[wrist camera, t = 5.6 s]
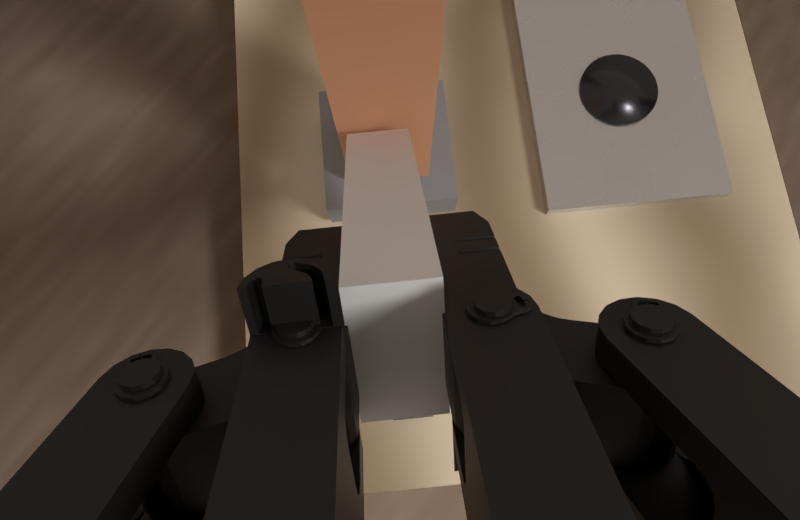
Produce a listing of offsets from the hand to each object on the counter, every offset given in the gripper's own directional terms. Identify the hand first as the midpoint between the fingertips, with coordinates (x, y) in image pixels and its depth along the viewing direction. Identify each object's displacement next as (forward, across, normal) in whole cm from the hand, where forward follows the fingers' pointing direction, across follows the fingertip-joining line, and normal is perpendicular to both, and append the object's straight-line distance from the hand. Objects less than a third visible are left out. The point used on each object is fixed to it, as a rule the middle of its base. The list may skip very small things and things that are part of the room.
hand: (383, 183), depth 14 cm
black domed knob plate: (+10, +8, +4) cm, 14 cm away
